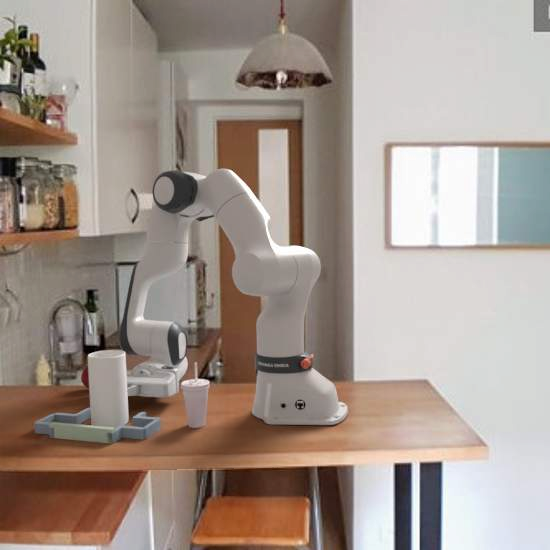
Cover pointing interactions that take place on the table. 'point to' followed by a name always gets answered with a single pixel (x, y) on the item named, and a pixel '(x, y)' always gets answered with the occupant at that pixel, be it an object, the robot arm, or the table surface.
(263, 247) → the robot arm
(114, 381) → the cup
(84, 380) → the onion
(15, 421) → the table surface
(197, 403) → the smoothie
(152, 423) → the box
